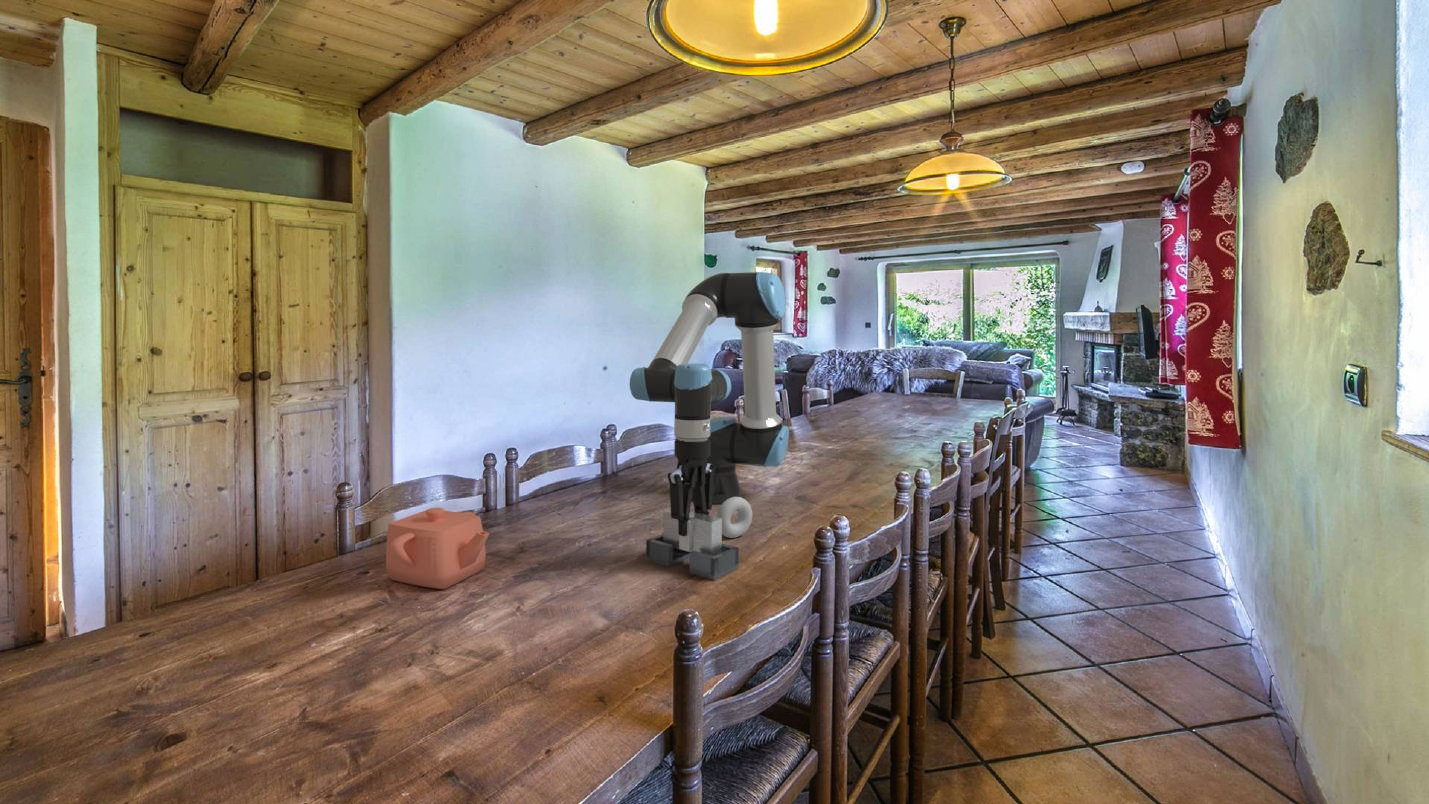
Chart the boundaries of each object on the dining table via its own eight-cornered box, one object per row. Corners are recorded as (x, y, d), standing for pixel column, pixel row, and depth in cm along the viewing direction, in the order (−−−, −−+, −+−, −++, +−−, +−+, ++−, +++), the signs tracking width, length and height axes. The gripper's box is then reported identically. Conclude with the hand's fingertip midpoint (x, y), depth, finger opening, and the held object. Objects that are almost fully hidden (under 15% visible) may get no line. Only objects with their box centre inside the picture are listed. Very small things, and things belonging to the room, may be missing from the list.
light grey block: (673, 540, 149) (673, 507, 149) (721, 553, 142) (721, 518, 141) (663, 545, 147) (663, 511, 146) (711, 557, 139) (711, 522, 138)
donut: (721, 543, 158) (721, 501, 157) (712, 539, 161) (713, 498, 160) (755, 535, 164) (755, 495, 163) (746, 532, 167) (747, 492, 165)
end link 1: (671, 549, 154) (671, 530, 153) (693, 555, 150) (693, 536, 149) (646, 560, 147) (646, 540, 146) (668, 567, 143) (668, 546, 143)
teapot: (364, 590, 130) (360, 520, 128) (447, 553, 150) (444, 492, 148) (446, 607, 123) (443, 533, 121) (522, 566, 143) (520, 502, 141)
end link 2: (714, 561, 146) (714, 541, 146) (738, 568, 143) (738, 547, 142) (689, 573, 140) (689, 552, 139) (714, 580, 136) (714, 559, 135)
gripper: (681, 446, 132) (680, 561, 135) (730, 435, 146) (728, 540, 149) (652, 441, 137) (652, 553, 140) (702, 431, 150) (701, 533, 153)
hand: (691, 546), depth 144 cm, fingers closed on light grey block, 3 cm apart
